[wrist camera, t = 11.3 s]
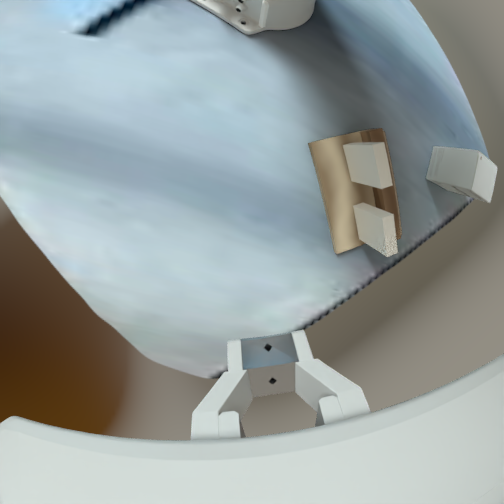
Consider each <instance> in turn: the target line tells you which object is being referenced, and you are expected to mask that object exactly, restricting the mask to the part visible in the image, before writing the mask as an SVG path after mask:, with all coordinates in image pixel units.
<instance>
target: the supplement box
mask: <svg viewBox="0 0 504 504" xmlns="http://www.w3.org/2000/svg"><path fill="white" fill-rule="evenodd" d="M496 173H497V166H496V165H495V164H494V163H492V162H491V161H490V160H489V159H488V158H487V157H486V156H485V155H483V154H482V153H481V152H480V151H477V150H469V149H461V148H451V147H440V146H433V150H432V154H431V159H430V163H429V167H428V171H427V175H426V179H427V180H429V181H431V182H433V183H435V184H437V185H439V186H440V187H442V188H444V189H445V190H447V191H451V192H454V193H458V194H461V195H464V196H468V197H471V198H475V199H478V200H482V201H485V202H488V203H490V201H491V198H492V193H493V188H494V183H495V179H496Z"/></svg>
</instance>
